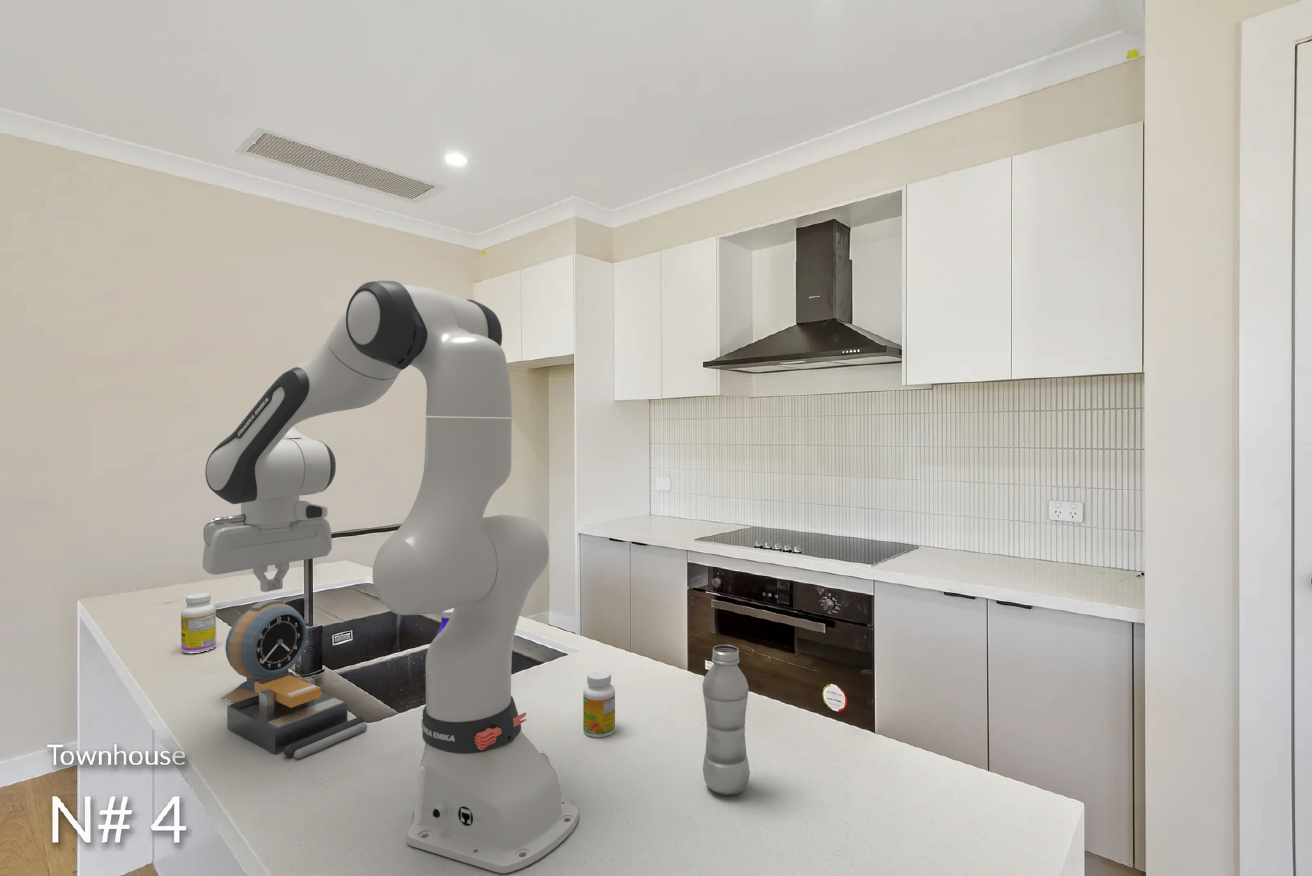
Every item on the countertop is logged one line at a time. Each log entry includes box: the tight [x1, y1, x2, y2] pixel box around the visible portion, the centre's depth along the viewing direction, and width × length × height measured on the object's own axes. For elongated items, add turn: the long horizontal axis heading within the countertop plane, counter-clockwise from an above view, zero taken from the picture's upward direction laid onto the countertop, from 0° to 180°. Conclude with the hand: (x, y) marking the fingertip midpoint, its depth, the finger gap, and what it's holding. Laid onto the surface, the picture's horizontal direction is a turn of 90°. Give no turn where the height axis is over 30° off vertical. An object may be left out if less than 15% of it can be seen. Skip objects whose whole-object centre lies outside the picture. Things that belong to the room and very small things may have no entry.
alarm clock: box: [220, 599, 308, 703], centre depth 126 cm, size 14×10×18 cm
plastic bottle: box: [702, 644, 751, 796], centre depth 91 cm, size 6×7×20 cm
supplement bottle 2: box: [582, 669, 616, 739], centre depth 108 cm, size 5×5×10 cm
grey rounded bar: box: [283, 715, 368, 760], centre depth 104 cm, size 13×3×2 cm, turn 147°
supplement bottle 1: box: [180, 592, 217, 653], centre depth 148 cm, size 7×7×13 cm
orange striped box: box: [255, 673, 322, 708], centre depth 110 cm, size 12×5×2 cm, turn 57°
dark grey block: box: [226, 676, 349, 756], centre depth 110 cm, size 16×12×7 cm
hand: (271, 590), depth 112 cm, fingers closed
